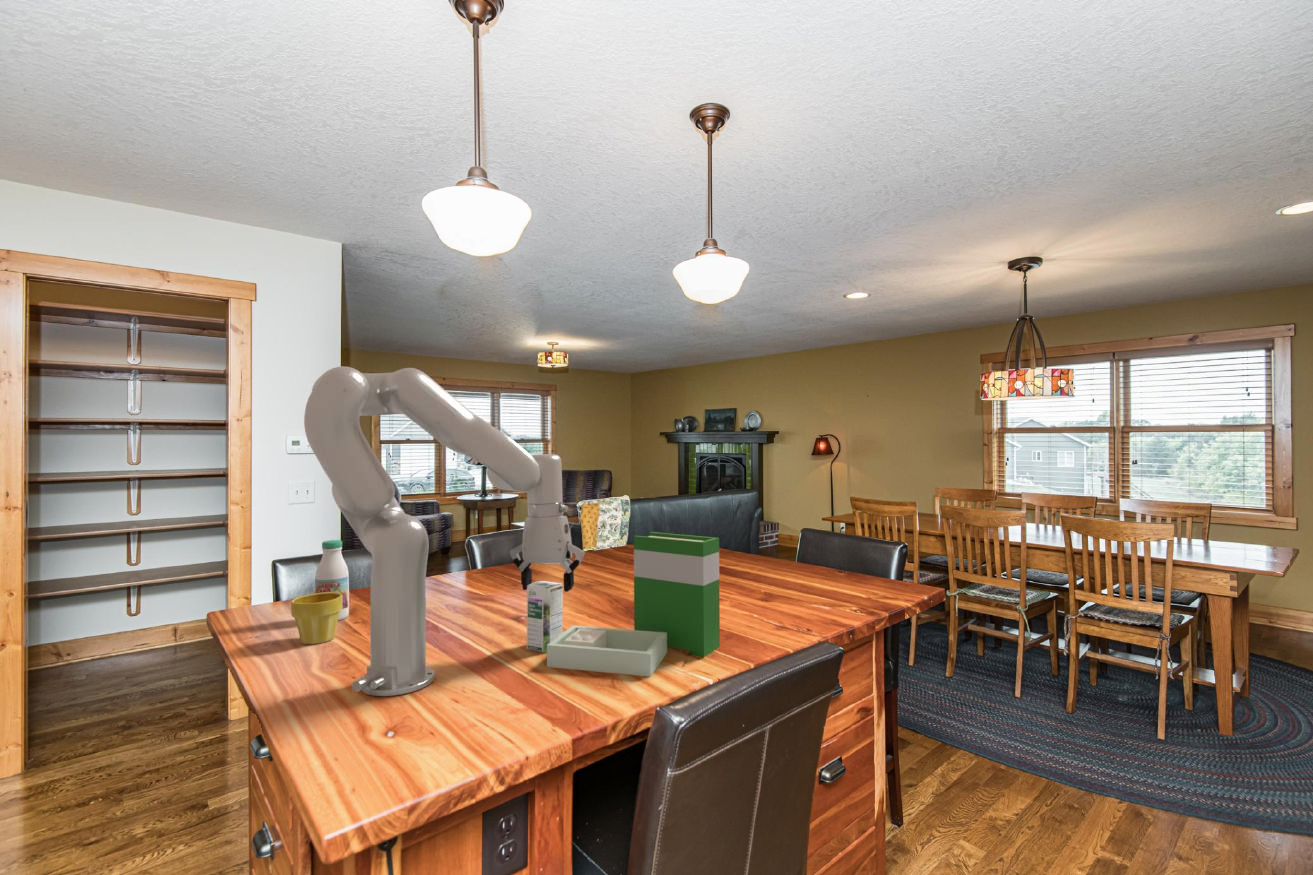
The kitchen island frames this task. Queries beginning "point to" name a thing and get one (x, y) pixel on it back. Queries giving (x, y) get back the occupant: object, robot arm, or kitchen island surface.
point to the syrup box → (544, 614)
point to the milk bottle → (333, 574)
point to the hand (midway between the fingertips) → (547, 589)
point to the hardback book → (678, 590)
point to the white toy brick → (587, 638)
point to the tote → (611, 652)
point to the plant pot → (317, 616)
